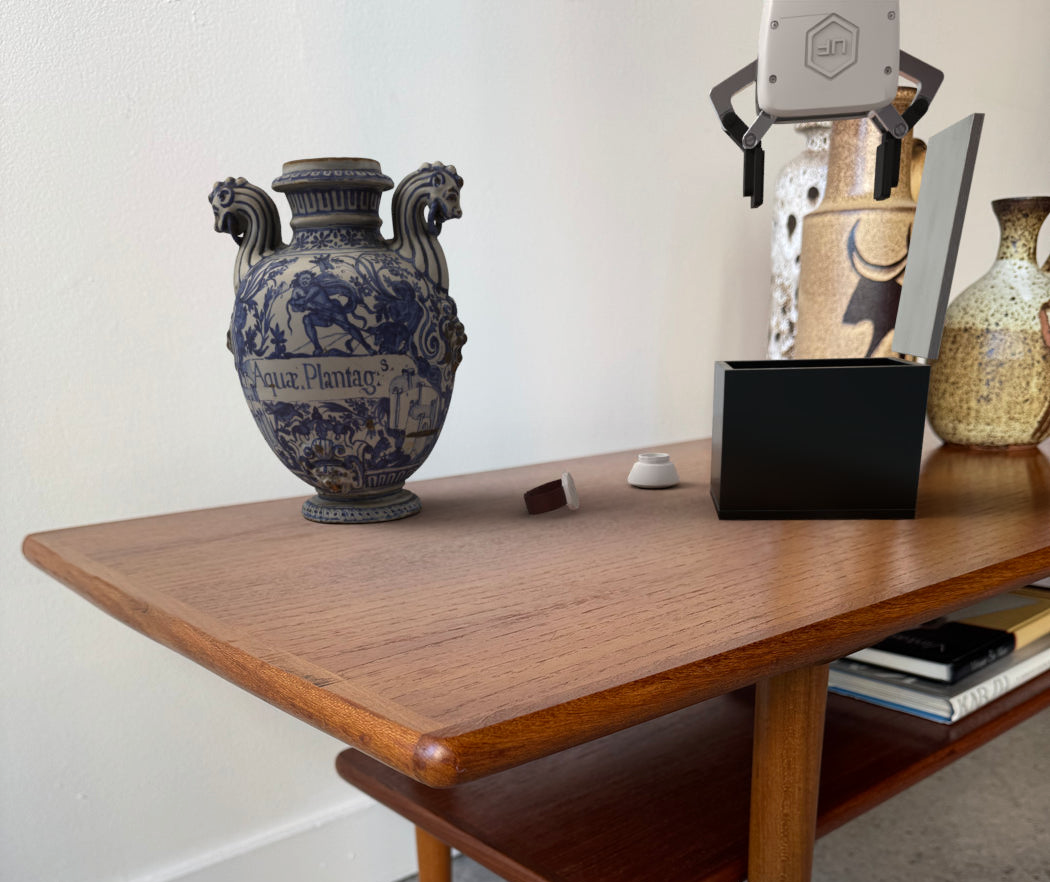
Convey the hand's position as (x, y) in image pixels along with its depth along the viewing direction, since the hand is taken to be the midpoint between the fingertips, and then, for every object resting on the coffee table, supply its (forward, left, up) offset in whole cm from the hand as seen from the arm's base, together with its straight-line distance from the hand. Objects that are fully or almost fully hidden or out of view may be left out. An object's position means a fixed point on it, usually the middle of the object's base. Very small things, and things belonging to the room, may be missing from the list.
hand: (818, 203), depth 82 cm
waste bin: (-1, 0, -24) cm, 24 cm away
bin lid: (-9, 0, -3) cm, 9 cm away
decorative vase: (+38, +2, -24) cm, 45 cm away
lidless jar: (+12, -11, -24) cm, 29 cm away
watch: (+21, +2, -24) cm, 32 cm away
